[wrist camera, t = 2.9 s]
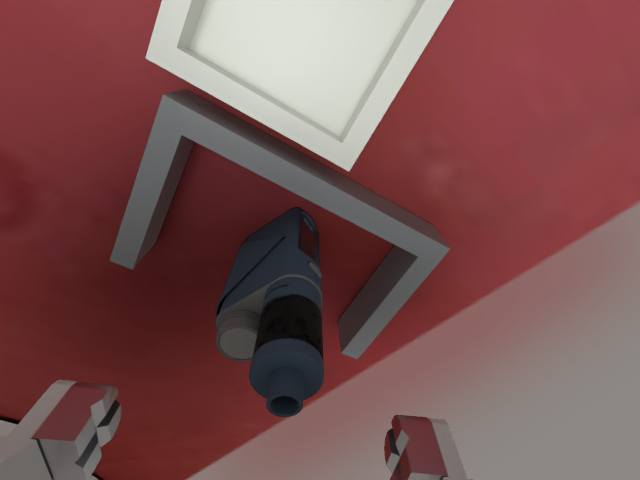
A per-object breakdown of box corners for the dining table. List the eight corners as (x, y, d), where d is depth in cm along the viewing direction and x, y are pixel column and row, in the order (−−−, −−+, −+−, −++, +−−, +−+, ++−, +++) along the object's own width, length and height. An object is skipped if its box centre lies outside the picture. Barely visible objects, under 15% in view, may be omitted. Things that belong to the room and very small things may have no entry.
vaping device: (327, 231, 21) (345, 412, 10) (259, 272, 22) (210, 471, 11) (303, 198, 19) (294, 361, 9) (233, 243, 21) (151, 433, 10)
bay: (352, 326, 24) (357, 359, 21) (135, 234, 20) (109, 260, 18) (432, 224, 20) (450, 249, 18) (186, 89, 17) (162, 94, 14)
